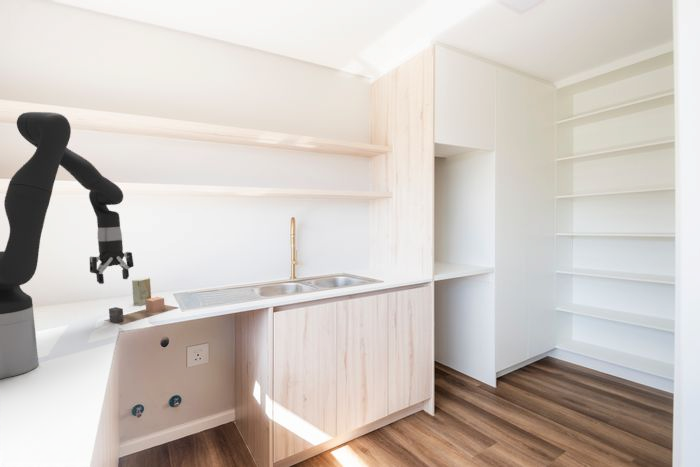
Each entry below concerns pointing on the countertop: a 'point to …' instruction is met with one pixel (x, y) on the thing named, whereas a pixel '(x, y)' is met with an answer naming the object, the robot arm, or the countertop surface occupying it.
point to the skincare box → (141, 291)
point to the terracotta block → (155, 304)
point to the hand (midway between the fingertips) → (113, 281)
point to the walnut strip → (132, 315)
